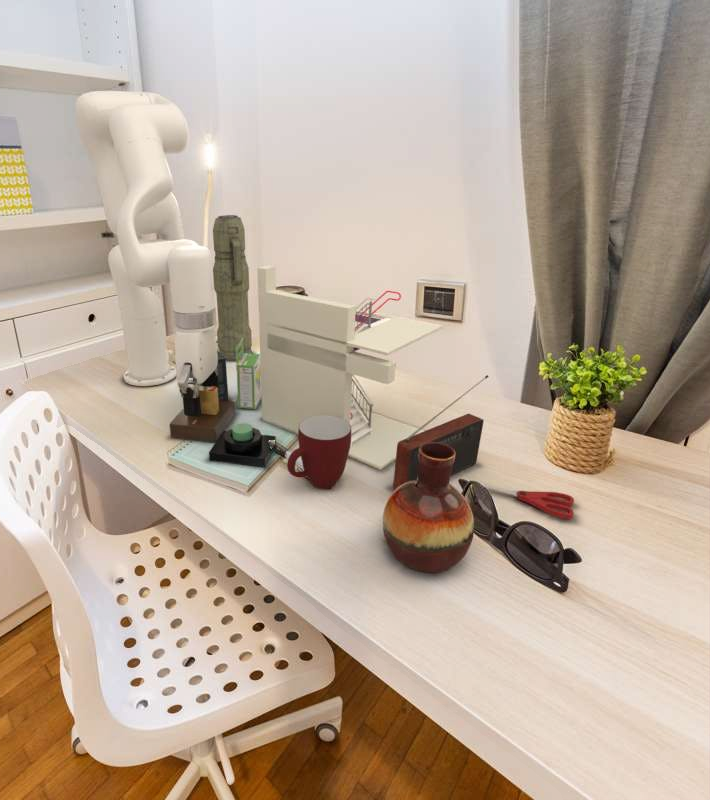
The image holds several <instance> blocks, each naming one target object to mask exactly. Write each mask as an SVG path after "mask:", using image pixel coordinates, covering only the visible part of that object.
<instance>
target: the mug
mask: <svg viewBox="0 0 710 800" xmlns="http://www.w3.org/2000/svg"><path fill="white" fill-rule="evenodd" d="M297 436H298V437H297V439H298V448H296V449H294V450H293V451H292V452H291V453H290V455H289V456H288V459H287V461H286V462H287V463H286V465H287V466H286V468H287V471H288V473H289V474H290V475H291V476H293V477H295V478H298V479H299V478H307V479H308V480H309V481H310V483H311V484H312V486H314V487H316V488H318V489H331V488H333V487H334V486H335V485H336V484H337V483H338V482H339V480H340V479H341V477H342V476H343V474H344V472H345V470H346V469H345V468H346V465H347V461H348V457H349V456H348V454H349V450H350V445H351V425H350V424H349V423H348V422H347V421H345V420H344V419H342V418H339V417H335V416H329V415H319V416H312V417H309V418H306V419H304V420H303V421H302V422H301V423H300V424H299V430H298V435H297ZM299 458H301V463H302V468H303V470H301V471H297V470H296V463H297V461H298V459H299Z"/></svg>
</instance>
